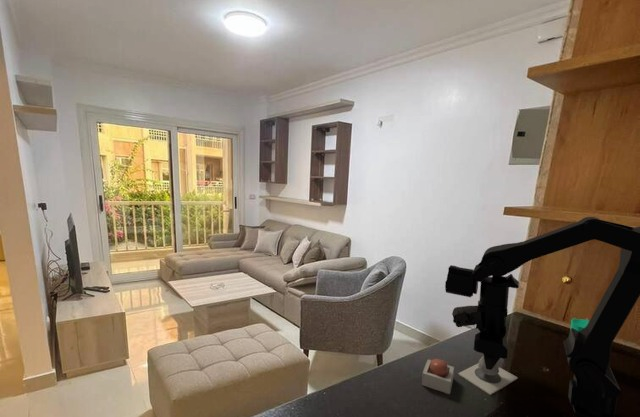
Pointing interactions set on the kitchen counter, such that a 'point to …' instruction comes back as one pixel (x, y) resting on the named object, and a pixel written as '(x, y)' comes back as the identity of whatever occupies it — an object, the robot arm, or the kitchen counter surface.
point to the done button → (438, 368)
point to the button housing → (438, 379)
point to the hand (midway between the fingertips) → (489, 363)
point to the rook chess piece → (487, 371)
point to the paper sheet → (487, 379)
